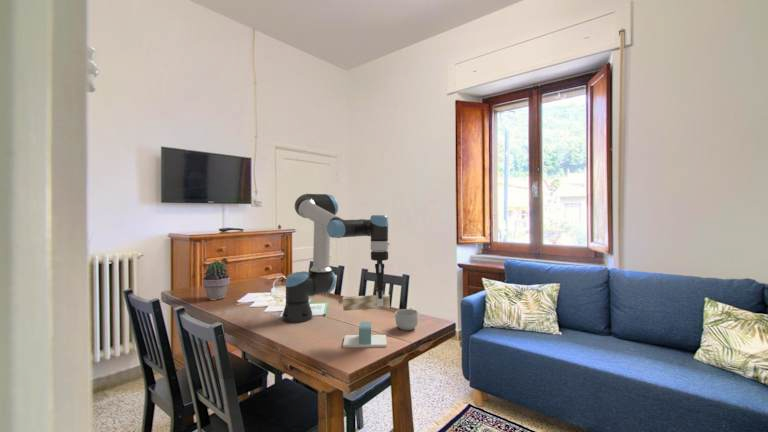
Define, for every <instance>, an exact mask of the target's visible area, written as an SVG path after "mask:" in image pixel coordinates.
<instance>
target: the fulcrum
mask: <svg viewBox="0 0 768 432" xmlns="http://www.w3.org/2000/svg"><path fill="white" fill-rule="evenodd" d="M358 327H359V328H358V334H346V335H344V338H343V339H344V340H343V343H342V348H388V346H387V345H388V343H387V335H386V334H372V321H360V322H359V325H358Z"/></svg>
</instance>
